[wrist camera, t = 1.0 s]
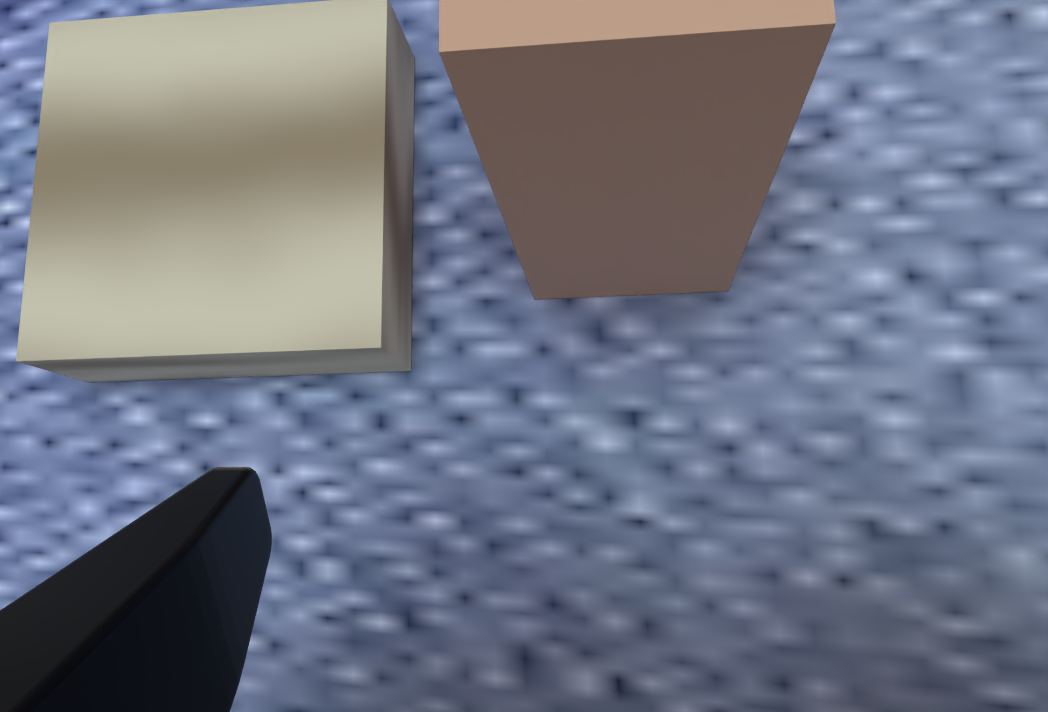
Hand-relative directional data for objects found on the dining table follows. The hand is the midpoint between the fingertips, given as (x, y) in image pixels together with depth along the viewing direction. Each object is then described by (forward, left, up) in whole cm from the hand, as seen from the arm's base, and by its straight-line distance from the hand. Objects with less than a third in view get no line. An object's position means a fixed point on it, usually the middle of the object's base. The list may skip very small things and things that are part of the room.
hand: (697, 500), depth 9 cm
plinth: (-5, +13, -14) cm, 19 cm away
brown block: (+4, +8, -14) cm, 16 cm away
